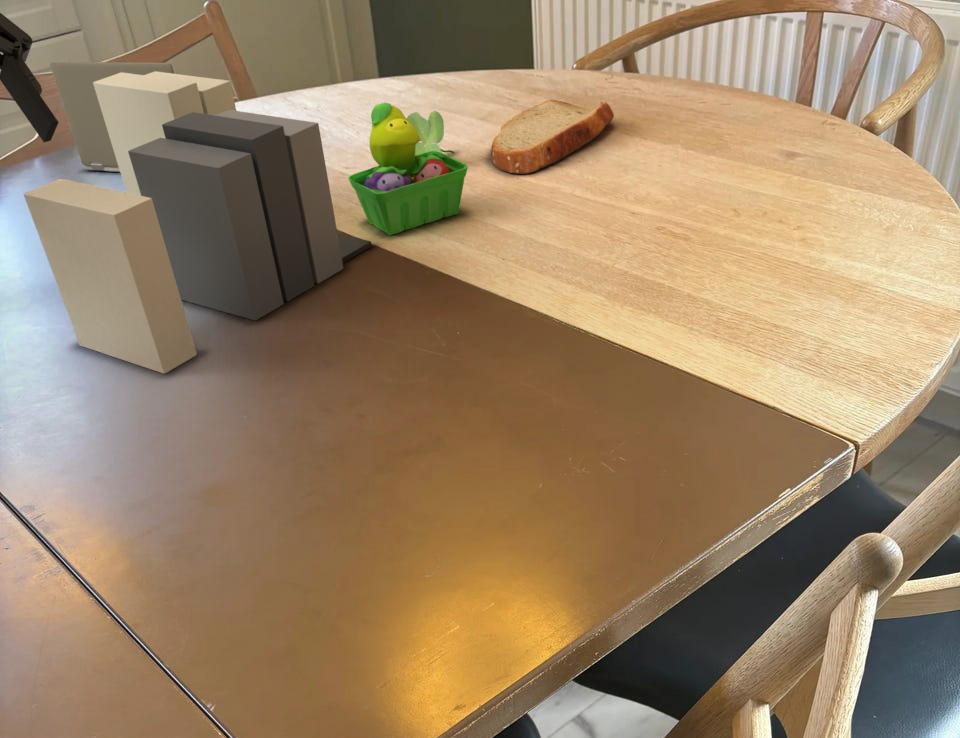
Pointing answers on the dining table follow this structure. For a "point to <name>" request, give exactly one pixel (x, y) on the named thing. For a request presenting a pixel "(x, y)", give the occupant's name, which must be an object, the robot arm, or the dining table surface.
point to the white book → (113, 272)
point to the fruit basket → (406, 177)
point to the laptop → (93, 106)
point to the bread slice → (546, 135)
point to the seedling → (428, 132)
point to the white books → (153, 109)
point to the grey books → (243, 209)
